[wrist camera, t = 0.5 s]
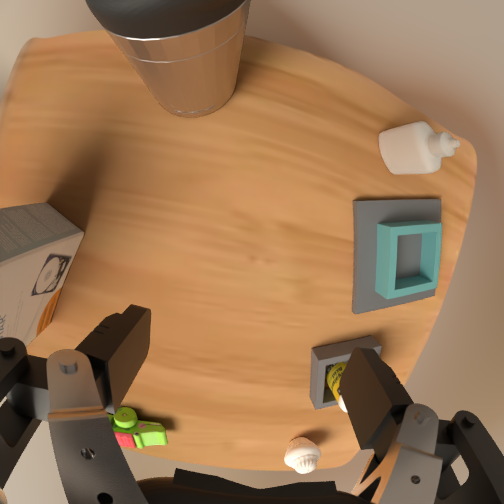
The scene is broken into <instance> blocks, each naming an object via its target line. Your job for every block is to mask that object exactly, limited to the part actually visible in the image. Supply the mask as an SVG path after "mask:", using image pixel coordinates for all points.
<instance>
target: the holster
mask: <svg viewBox="0 0 504 504" xmlns="http://www.w3.org/2000/svg"><path fill="white" fill-rule="evenodd" d="M356 347H362V348H373V349H374V350H375V351H376V352H377V354H378V355H379V357H380V352H381V345H380V344H379V343H378V341H377V340H376V339H375V338H374V337H373V336H372V335H371V336H367V337H363V338H359V339H354V340H350V341H345V342H341V343H336V344H331V345H326V346H321V347H316V348H312V352H311V381H310V399H311V401H312V403H313V405H314V408H315V410H316V409H321V408H325V407H329V406H333V405H337V404H338V402H337V400H336V398H335V396H334V394H333V393H332V391H331V389H330V388H326V389H324V382H325V369H326V365H330V364H334V363H339V362H343V361H347V360H349V358H350V356H351V354H352V351H353V350H354V349H355V348H356Z"/></svg>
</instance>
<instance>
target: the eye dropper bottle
mask: <svg viewBox="0 0 504 504" xmlns="http://www.w3.org/2000/svg"><path fill="white" fill-rule="evenodd" d="M459 146H460V142H459V140H457V139H453V137H452V136H451V135H450V134H449V133H447V132H441V133H436V134H435V132H434V131H433V129H432V128H431V127H430V126H429V125H428V124H427V123H426V122H424V121H419V122H414V123H410V124H406V125H403V126H399V127H395V128H392V129H389V130H385V131H382V132H381V133H380V134H379V148H380V152H381V156H382V158H383V161H384V163H385V165H386V166H387V168H388V169H389V171H390V172H391V173H392V174H429V173H433V172H435V171H437V170H439V169H440V166H441V160H442V157H451V156H453V154H454V153H455V148H457V147H459Z"/></svg>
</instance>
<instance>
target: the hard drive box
mask: <svg viewBox="0 0 504 504" xmlns="http://www.w3.org/2000/svg"><path fill="white" fill-rule="evenodd" d="M83 236H84V232H83V231H82V230H80V229H79V228H78V227H77V226H75V225H74V224H73V223H71V222H70V221H69V220H68V219H66V218H65V217H64V216H63V215H61V214H60V213H59V212H58V211H56V210H55V209H54V208H53V207H51V206H50V205H49V204H48V203H46V202H45V203H37V204H30V205H22V206H15V207H8V208H1V209H0V338H4V337H14V338H17V339H19V340H21V341H22V342H23V343H24V344H25V346H27V345H28V344H29V343H31V342H32V341H33V340H34V339H35V338H36V337H37V336H38V335H39V334H40V333H41V332H42V331H43V330H44V329H45V328H46V327H47V326H48V325H49V324H50V321H51V318H52V315H53V312H54V310H55V307H56V304H57V300H58V297H59V294H60V291H61V289H62V286H63V283H64V281H65V278H66V276H67V273H68V270H69V268H70V266H71V264H72V262H73V259H74V257H75V254H76V252H77V249H78V247H79V245H80V242H81V240H82V238H83Z"/></svg>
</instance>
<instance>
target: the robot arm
mask: <svg viewBox="0 0 504 504" xmlns="http://www.w3.org/2000/svg"><path fill="white" fill-rule="evenodd" d="M250 1H251V0H86V3H87V5H88V7H89V8H90V10H91V12H92V13H93V15H94V16H95V17H96V18H97V20H98V21H99V22H100V23H101V25H102V26H103V27H104V28H105V30H106V31H107V32H108V34H109V35H110V37H111V38H112V39H113V41H114V42H115V43H116V45H117V46H118V47H119V49H120V50H121V51H122V52H123V54H124V55H125V57H126V58H127V59H128V61H129V62H130V63H131V65H132V66H133V68H134V69H135V70H136V72H137V73H138V74H139V76H140V77H141V79H142V80H143V81H144V83H145V84H146V85H147V87H148V88H149V90H150V91H151V93H152V94H153V95H154V97H155V98H156V99H157V101H158V102H159V103H160V104H161V106H162V107H163V108H164V109H166V110H167V111H169V112H170V113H172V114H175V115H177V116H182V117H200V116H204V115H207V114H210V113H212V112H214V111H216V110H217V109H219V108H221V107H222V106H223V105H224V104H225V103H226V102H227V101H228V100H229V98H230V97H231V96H232V94H233V91H234V89H235V86H236V80H237V74H238V69H239V63H240V57H241V51H242V45H243V40H244V34H245V29H246V23H247V18H248V11H249V6H250ZM150 325H151V310H150V309H148V308H144V307H141V306H137V305H133V304H131V305H130V306H129V307H128V308H127V309H126V310H125V311H124V312H123V313H122V314H119V313H115V314H112V315H110V316H108V317H106V318H105V319H104V320H103V321H102V322H101V323H100V324H99V326H97V327H96V328H95V329H94V330H93V331H92V332H91V333H90V334H89V335H88V336H87V337H86V338H85V339H84V340H83V341H82V342H81V343H80V344H79V345H78V346H77V347H76V348H75V349H74V350H71V349H64V350H59V351H56V352H54V353H53V354H51V355H50V356H49V358H48V359H46V358H41V357H36V356H31V355H28V354H27V350H26V346H25V344H24V343H23V342H22V341H21V340H19V339H17V338H14V337H4V338H0V402H1V401H2V400H3V398H4V397H5V396H6V397H7V399H6V401H5V402H4V403H3V404H2V406H1V407H0V504H7V499H6V496H5V494H4V492H3V488H4V486H5V484H6V482H7V480H8V478H9V476H10V474H11V472H12V471H13V469H14V467H15V465H16V463H17V462H18V460H19V458H20V456H21V454H22V453H23V451H24V449H25V447H26V446H27V444H28V443H29V441H30V439H31V438H32V436H33V434H34V432H35V431H36V429H37V428H38V426H39V425H40V423H41V421H42V420H44V421H48V422H49V428H50V433H51V439H52V444H53V449H54V453H55V458H56V462H57V466H58V470H59V474H60V477H61V481H62V484H63V487H64V491H65V494H66V497H67V500H68V503H69V504H504V456H503V454H502V453H501V451H500V450H499V448H498V447H497V445H496V443H495V442H494V440H493V439H492V437H491V436H490V435H489V433H488V431H487V430H486V429H485V427H484V426H483V424H482V423H481V421H480V420H479V419H478V417H477V416H475V415H474V414H473V413H471V412H468V411H463V410H462V411H458V412H457V413H456V414H455V416H454V417H453V418H452V420H451V421H447V420H439V419H438V416H437V414H436V413H435V412H434V411H433V410H432V409H431V408H429V407H428V406H425V405H423V404H418V403H415V404H414V402H413V401H412V399H411V398H410V396H409V394H408V393H407V391H406V390H405V388H404V387H403V385H402V384H400V383H401V382H400V381H399V379H398V378H397V377H396V375H395V373H394V372H393V370H392V369H391V367H389V366H388V365H387V364H386V363H385V362H383V361H382V360H381V358H380V357H379V355H378V354H377V352H376V351H375V350H374V349H373V348H362V347H356V348H355V349H354V350H353V351H352V354H351V356H350V358H349V360H348V363H347V365H346V367H345V369H344V371H343V373H342V376H341V378H340V382H339V391H340V394H341V396H342V399H343V402H344V404H345V407H346V410H347V412H348V415H349V418H350V420H351V423H352V426H353V429H354V431H355V434H356V437H357V440H358V443H359V445H360V448H361V450H364V449H374V453H373V454H372V455H371V457H370V458H369V461H368V463H367V465H366V467H365V468H364V470H363V472H362V474H361V476H360V478H359V480H358V482H357V483H356V485H355V487H354V489H353V490H352V492H351V493H346V492H342V491H337V490H336V485H335V481H326V482H298V483H294V484H289V485H284V486H278V487H272V488H265V489H256V488H252V487H249V486H245V485H242V484H239V483H236V482H233V481H229V480H226V479H224V478H220V477H218V476H213V475H207V474H202V473H197V472H191V471H187V470H182V469H178V468H176V470H175V474H174V477H157V478H149V479H144V480H140V481H136V480H135V478H134V476H133V474H132V472H131V470H130V468H129V466H128V464H127V461H126V459H125V457H124V455H123V452H122V450H121V448H120V445H119V443H118V441H117V438H116V436H115V433H114V431H113V428H112V425H111V423H110V420H109V417H108V414H107V412H109V413H112V414H114V415H115V413H116V412H117V410H118V408H119V406H120V404H121V402H122V400H123V399H124V397H125V395H126V393H127V391H128V389H129V388H130V386H131V384H132V382H133V380H134V379H135V377H136V375H137V373H138V371H139V370H140V368H141V366H142V364H143V362H144V361H145V359H146V357H147V354H148V350H149V345H150ZM459 455H461V456H462V458H463V460H464V462H465V464H466V466H467V468H468V470H469V477H468V479H467V481H466V482H465V483H464V484H463V485H462V486H460V484H459V482H458V480H457V477H456V475H455V473H454V471H453V469H452V467H451V464H452V463H453V462H454V461H455V460H456V459H457V458H458V457H459Z"/></svg>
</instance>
